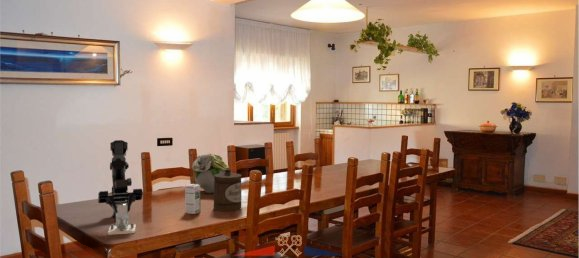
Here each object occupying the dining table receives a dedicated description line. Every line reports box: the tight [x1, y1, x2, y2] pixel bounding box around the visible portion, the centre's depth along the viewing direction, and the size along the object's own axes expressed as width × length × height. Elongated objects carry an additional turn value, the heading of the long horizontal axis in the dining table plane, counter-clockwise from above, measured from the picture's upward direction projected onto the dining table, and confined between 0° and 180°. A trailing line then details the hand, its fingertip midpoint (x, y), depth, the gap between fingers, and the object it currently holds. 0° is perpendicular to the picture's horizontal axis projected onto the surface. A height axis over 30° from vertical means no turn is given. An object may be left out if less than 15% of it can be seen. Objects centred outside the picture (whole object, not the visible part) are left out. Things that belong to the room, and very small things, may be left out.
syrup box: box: [184, 183, 202, 215], centre depth 244 cm, size 6×6×14 cm
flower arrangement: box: [191, 153, 230, 194], centre depth 299 cm, size 25×25×24 cm
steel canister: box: [115, 203, 129, 228], centre depth 209 cm, size 5×5×10 cm
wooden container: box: [213, 167, 242, 212], centre depth 255 cm, size 15×15×22 cm
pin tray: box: [107, 222, 137, 236], centre depth 209 cm, size 11×11×3 cm
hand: (122, 211), depth 208 cm, fingers closed on steel canister, 5 cm apart
